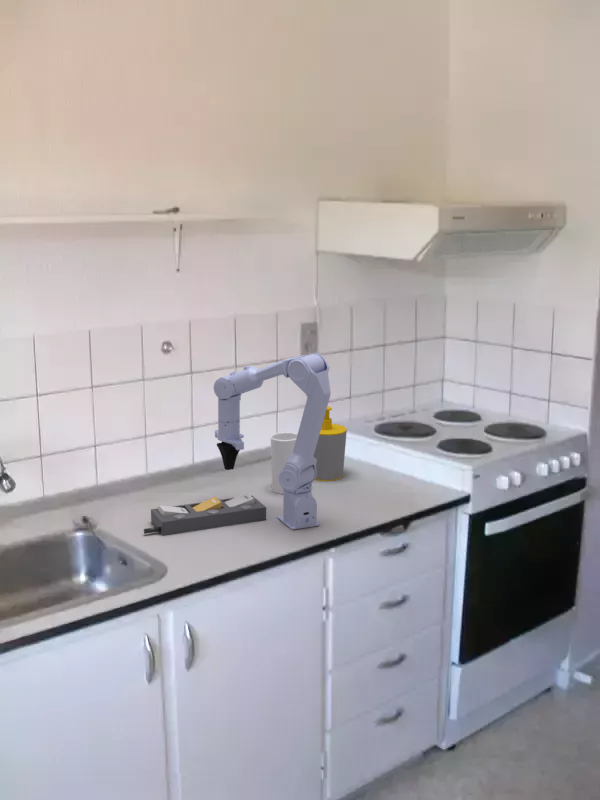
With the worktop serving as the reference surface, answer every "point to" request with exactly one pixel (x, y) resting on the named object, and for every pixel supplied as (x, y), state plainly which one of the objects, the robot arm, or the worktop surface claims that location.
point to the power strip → (206, 518)
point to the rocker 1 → (171, 510)
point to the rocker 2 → (240, 500)
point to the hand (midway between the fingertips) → (229, 469)
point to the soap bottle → (330, 450)
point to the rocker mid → (208, 505)
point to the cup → (280, 455)
